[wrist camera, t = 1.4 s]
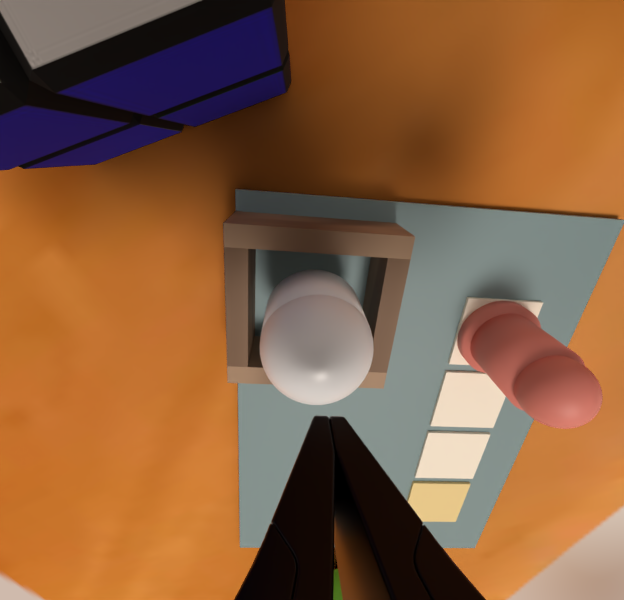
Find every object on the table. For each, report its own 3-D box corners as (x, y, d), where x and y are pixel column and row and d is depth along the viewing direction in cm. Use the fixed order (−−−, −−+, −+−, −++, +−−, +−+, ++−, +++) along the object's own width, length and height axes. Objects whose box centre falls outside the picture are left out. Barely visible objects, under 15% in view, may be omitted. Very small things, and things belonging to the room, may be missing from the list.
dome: (366, 272, 15) (397, 326, 10) (353, 355, 17) (375, 433, 12) (267, 266, 14) (253, 319, 10) (264, 351, 16) (252, 430, 12)
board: (618, 218, 18) (628, 221, 17) (472, 542, 29) (475, 550, 28) (236, 188, 16) (234, 190, 16) (240, 542, 27) (239, 550, 27)
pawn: (543, 302, 19) (660, 374, 13) (517, 367, 20) (609, 456, 14) (468, 298, 18) (552, 369, 12) (449, 364, 20) (513, 454, 14)
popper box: (395, 222, 17) (415, 236, 14) (371, 356, 20) (383, 388, 17) (235, 211, 16) (223, 223, 13) (237, 350, 19) (227, 382, 17)
